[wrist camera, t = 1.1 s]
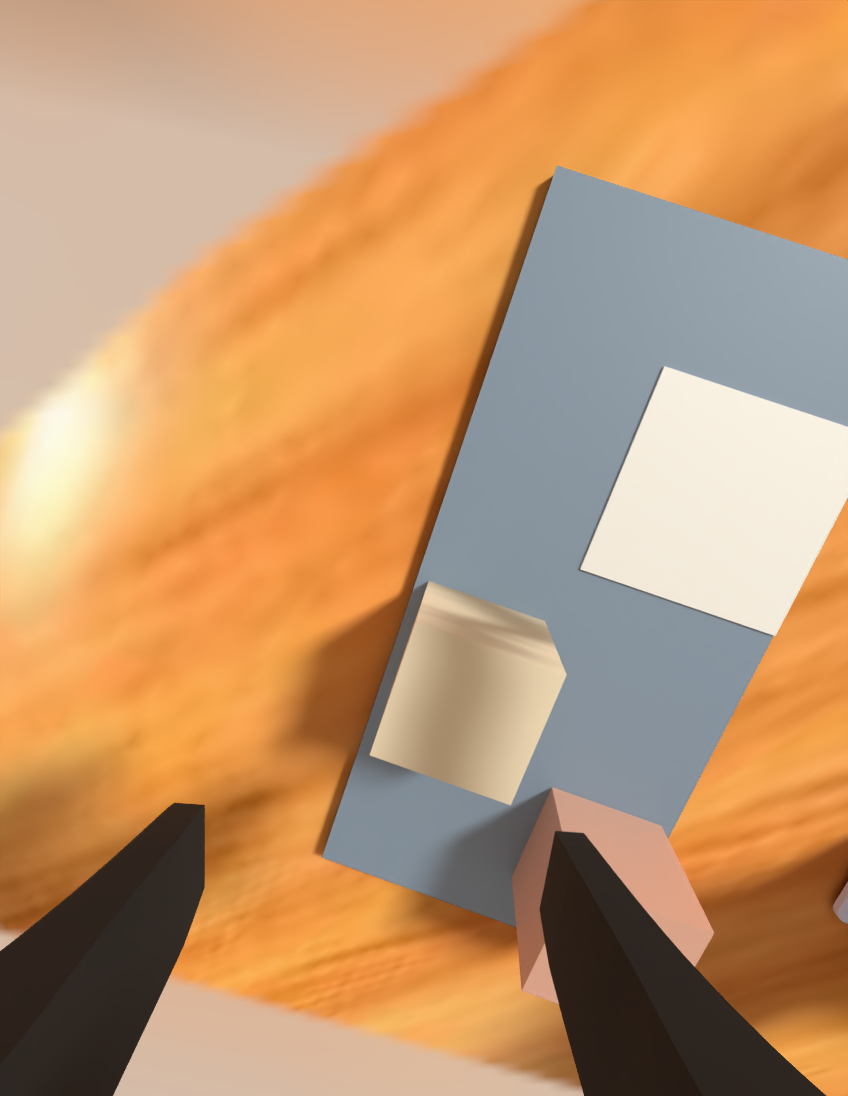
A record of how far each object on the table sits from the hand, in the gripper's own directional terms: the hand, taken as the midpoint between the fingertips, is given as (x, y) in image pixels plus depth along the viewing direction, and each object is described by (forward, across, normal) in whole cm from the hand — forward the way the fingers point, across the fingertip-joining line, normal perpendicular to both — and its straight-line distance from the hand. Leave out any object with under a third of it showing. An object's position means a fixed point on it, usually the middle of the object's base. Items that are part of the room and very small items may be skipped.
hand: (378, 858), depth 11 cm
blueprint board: (+11, -8, -2) cm, 14 cm away
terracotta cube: (+10, -9, +9) cm, 16 cm away
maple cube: (+11, -3, +1) cm, 12 cm away
